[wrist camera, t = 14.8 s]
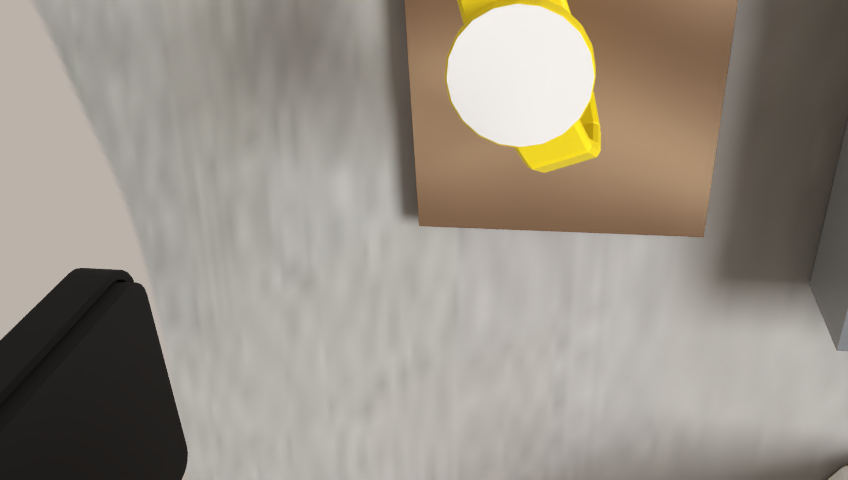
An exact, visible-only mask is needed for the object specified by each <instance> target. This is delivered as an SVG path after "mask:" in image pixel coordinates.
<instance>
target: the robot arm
mask: <svg viewBox="0 0 848 480" xmlns="http://www.w3.org/2000/svg"><path fill="white" fill-rule="evenodd" d="M187 456H188V451H187V445H186V441H185V438H184V434H183V430H182V426H181V422H180V419H179V415H178V411H177V407H176V403H175V399H174V396H173V392H172V388H171V384H170V380H169V377H168V373H167V369H166V365H165V361H164V358H163V354H162V350H161V346H160V342H159V338H158V335H157V331H156V327H155V323H154V319H153V316H152V312H151V308H150V304H149V301H148V297H147V294H146V291H145V289H144V287H143V286H142V285H141V284H139V283H134V281H133V278H132V277H131V276H130V275H129V273H127V272H125V271H123V270H111V269H109V270H108V269H90V268H79V269H75V270H73V271H72V272H70V273H69V274H68V275H67V276H66V277H65V278H64V279H63V280H62V281H61V282H60V283H59V284H58V285H57V286H56V287H55V288H54V289H53V290H52V291H51V292H50V293H48V294H47V295H46V297H44V298H43V299H42V300H41V301H40V302H39V303H38V304H37V305H36V306H35V307H34V308H33V309H32V310H31V311H30V312H29V313H28V314H27V315H26V316H25V317H24V318H23V319H22V320H21V321H20V322H19V323H18V324H17V325H16V326H15V327H14V328H13V329H12V330H11V331H10V332H9V333H8V334H7V335H5V337H3V339H2V340H0V480H182V477H183V475H184V473H185V469H186V465H187Z"/></svg>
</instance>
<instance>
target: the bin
mask: <svg viewBox="0 0 848 480" xmlns="http://www.w3.org/2000/svg"><path fill="white" fill-rule="evenodd" d="M810 287H811V289H812V292H813V294H814V297H815V299H816V302H817V304H818V306H819V309H820V311H821V314H822V316H823V318H824V321H825V323H826V326H827V328H828V331H829V333H830V335H831V338H832V340H833V343H834V345H835V347H836V350H837V351H848V121H847V125H846V129H845V134H844V138H843V142H842V147H841V151H840V155H839V160H838V164H837V168H836V173H835V177H834V181H833V185H832V190H831V194H830V198H829V203H828V207H827V211H826V216H825V220H824V224H823V229H822V233H821V237H820V242H819V246H818V250H817V254H816V259H815V263H814V267H813V272H812V276H811V280H810Z"/></svg>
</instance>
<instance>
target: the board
mask: <svg viewBox="0 0 848 480" xmlns="http://www.w3.org/2000/svg"><path fill="white" fill-rule="evenodd" d="M404 3H405V18H406V34H407V49H408V64H409V79H410V95H411V110H412V125H413V140H414V155H415V171H416V186H417V201H418V216H419V226H433V227H458V228H484V229H509V230H535V231H561V232H586V233H612V234H637V235H663V236H689V237H704V231H705V224H706V217H707V210H708V204H709V197H710V190H711V183H712V176H713V169H714V162H715V155H716V148H717V142H718V135H719V128H720V121H721V114H722V107H723V100H724V93H725V86H726V79H727V73H728V66H729V59H730V52H731V45H732V38H733V31H734V24H735V17H736V11H737V4H738V0H567V3H568V6H569V9H570V12H571V15H572V16H573V17H574V18H575V19H577V20H578V21H579V22H580V23H581V25H582V26H583V28H584V30H585V32H586V34H587V36H588V38H589V39H590V41H591V43H592V46H593V52H594V59H595V66H596V78H595V83H594V89H593V92H594V96H595V101H596V107H597V112H598V117H599V123H600V131H601V151H600V153H599V155H598V156H597V157H596V158H593V159H589V160H586V161H583V162H579V163H576V164H573V165H569V166H566V167H563V168H559V169H556V170H553V171H549V172H546V173H543V172H539V171H536V170H532V169H531V168H529V167H527V165H525V164H524V162H523V161H522V159H521V158H520V156H519V154H518V153H517V151H516V150H515V148H514V147H509V146H502V145H498V144H495V143H493V142H491V141H489V140H486V139H484V138H482V137H480V136H478V135H477V134H476V133H474V132H473V131H472V130H471V129H470V128H469V127H468V126H467V125H465V124H464V123H463V122H462V121H461V119H460V118H459V116H458V114H457V113H456V111H455V110H454V108H453V106H452V105H451V103H450V100H449V96H448V92H447V88H446V84H445V69H446V59H447V55H448V53H449V51H450V48H451V46H452V44H453V41H454V39H455V37H456V35H457V33H458V31H459V30H460V28H461V27H462V26H463V25H464V24H463V20H462V17H461V13H460V9H459V5H458V1H457V0H404Z"/></svg>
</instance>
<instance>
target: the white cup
mask: <svg viewBox="0 0 848 480" xmlns="http://www.w3.org/2000/svg"><path fill="white" fill-rule="evenodd" d="M828 480H848V465H847V466H844V467H842V468H841V469H839V470H838V471H837V472H836V473H835V474H834V475H832V476H831V477H830V478H829V479H828Z"/></svg>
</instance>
